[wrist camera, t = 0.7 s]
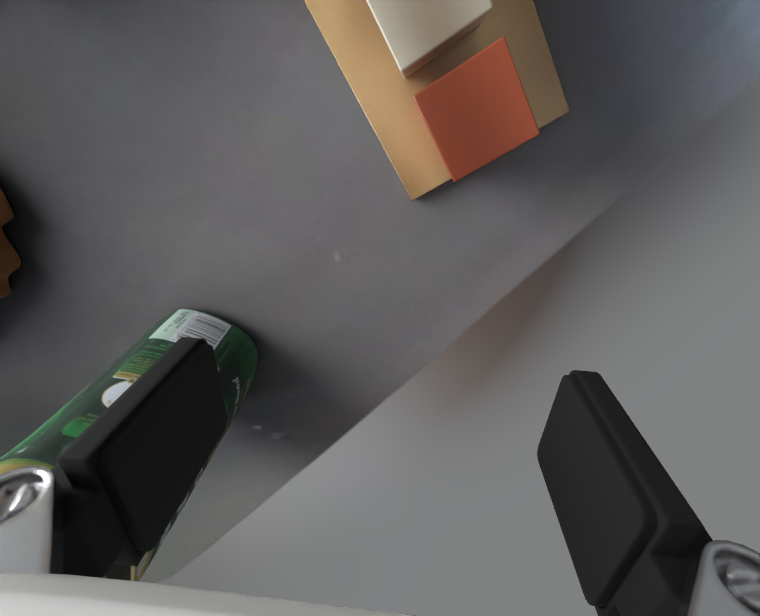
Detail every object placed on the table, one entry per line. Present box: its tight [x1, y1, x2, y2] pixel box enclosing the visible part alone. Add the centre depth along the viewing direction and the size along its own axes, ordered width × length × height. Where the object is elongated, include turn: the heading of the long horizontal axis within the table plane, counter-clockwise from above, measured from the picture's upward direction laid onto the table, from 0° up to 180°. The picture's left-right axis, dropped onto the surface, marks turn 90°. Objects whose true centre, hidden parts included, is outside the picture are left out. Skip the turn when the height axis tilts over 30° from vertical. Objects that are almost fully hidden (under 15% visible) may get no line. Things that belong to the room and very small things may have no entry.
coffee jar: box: [0, 309, 258, 582], centre depth 21 cm, size 10×8×19 cm
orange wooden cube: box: [413, 37, 540, 182], centre depth 17 cm, size 4×4×4 cm
